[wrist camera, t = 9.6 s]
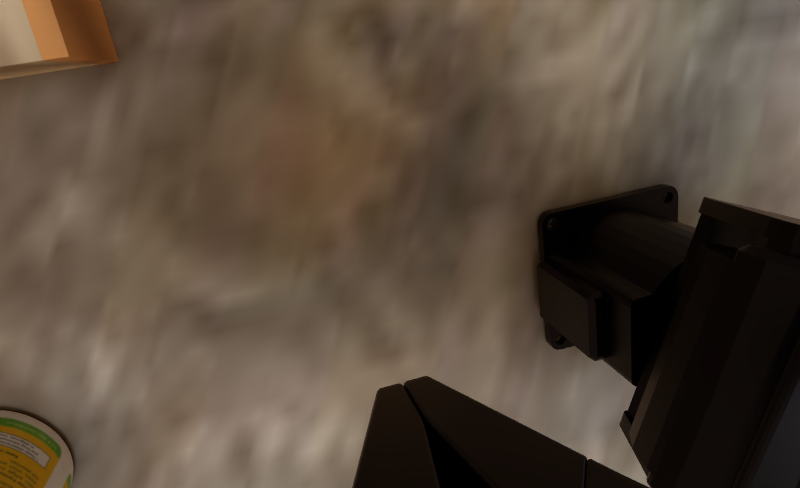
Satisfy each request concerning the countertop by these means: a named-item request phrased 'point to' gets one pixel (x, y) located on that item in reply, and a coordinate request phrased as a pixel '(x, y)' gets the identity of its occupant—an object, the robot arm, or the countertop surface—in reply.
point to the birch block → (52, 36)
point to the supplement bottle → (32, 454)
